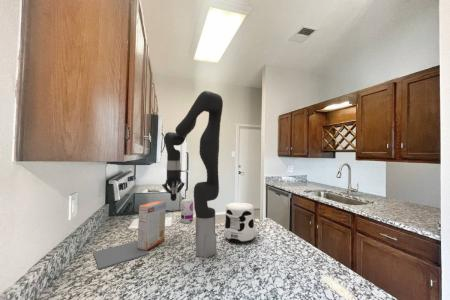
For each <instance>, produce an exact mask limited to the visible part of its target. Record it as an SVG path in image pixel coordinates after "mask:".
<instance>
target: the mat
mask: <svg viewBox="0 0 450 300" xmlns="http://www.w3.org/2000/svg"><path fill="white" fill-rule="evenodd" d="M137 246H138V240H135V241H130V242H127V243H123V244H118V245H115V246H112V247H108V248H107V247H106V248H103V249H100V250H95V251H93V252H92V253H93V257H94V260H95V263H96V266H97V268H98V270H99V271H100V270H103V269H107V268H110V267H113V266H116V265H120V264H123V263H125V262H126V263H127V262H129V261H134V260H136V259H139V258H143V257H146V256H149V255H150V252H149V251H148V250H142V249H137Z"/></svg>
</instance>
